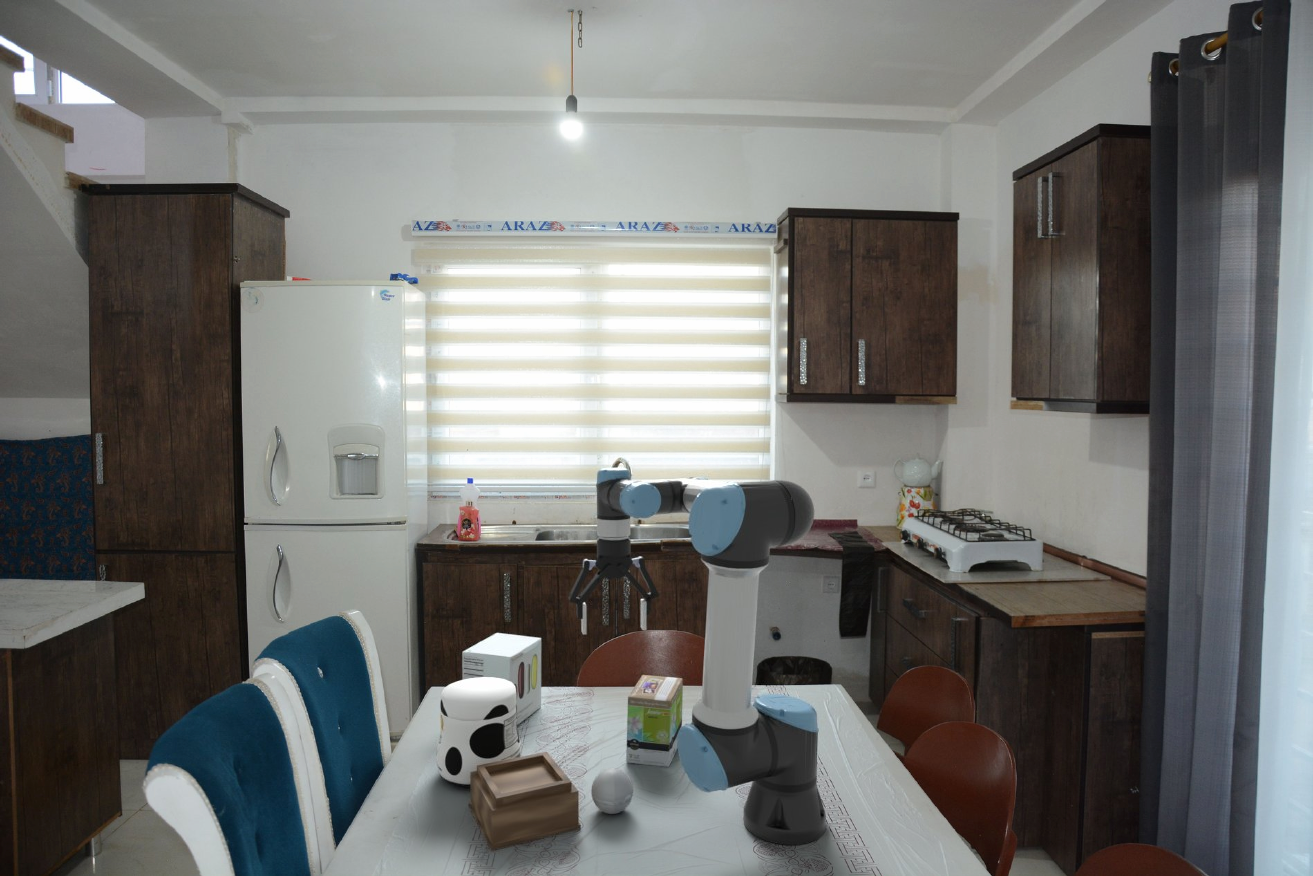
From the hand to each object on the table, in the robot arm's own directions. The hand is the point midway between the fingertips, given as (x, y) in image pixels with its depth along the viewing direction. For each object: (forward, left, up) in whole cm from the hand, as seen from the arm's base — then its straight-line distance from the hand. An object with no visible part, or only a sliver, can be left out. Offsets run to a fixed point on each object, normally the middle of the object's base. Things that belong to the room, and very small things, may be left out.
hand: (613, 631), depth 182 cm
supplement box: (+27, +18, -27) cm, 42 cm away
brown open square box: (-22, +28, -26) cm, 44 cm away
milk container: (-1, +31, -27) cm, 41 cm away
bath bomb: (-27, +12, -27) cm, 39 cm away
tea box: (-7, -7, -27) cm, 28 cm away
